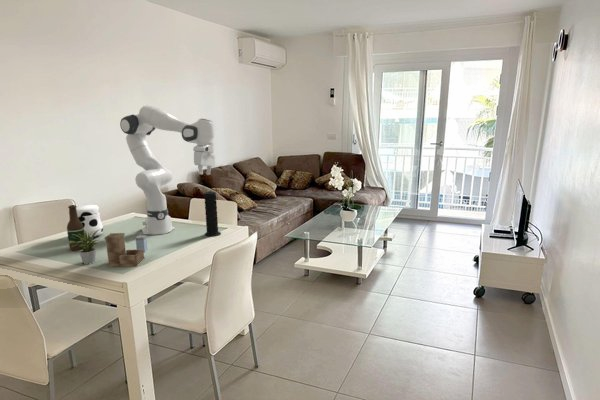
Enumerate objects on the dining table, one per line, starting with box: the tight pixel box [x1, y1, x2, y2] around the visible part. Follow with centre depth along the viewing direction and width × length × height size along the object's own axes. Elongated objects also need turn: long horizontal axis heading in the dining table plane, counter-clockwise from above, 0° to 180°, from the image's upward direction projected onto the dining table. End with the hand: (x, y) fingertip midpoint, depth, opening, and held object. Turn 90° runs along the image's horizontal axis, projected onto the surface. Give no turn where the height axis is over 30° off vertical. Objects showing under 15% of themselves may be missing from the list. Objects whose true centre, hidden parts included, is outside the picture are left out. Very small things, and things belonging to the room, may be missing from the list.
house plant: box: [68, 229, 101, 265], centre depth 186 cm, size 14×14×16 cm
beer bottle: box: [66, 204, 84, 252], centre depth 205 cm, size 8×8×24 cm
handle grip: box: [203, 190, 222, 238], centre depth 227 cm, size 10×26×10 cm
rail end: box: [135, 234, 148, 253], centre depth 201 cm, size 4×4×8 cm
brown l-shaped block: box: [104, 232, 145, 267], centre depth 184 cm, size 14×10×14 cm
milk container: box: [69, 204, 104, 240], centre depth 227 cm, size 17×17×18 cm
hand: (204, 174), depth 209 cm, fingers open, 8 cm apart
